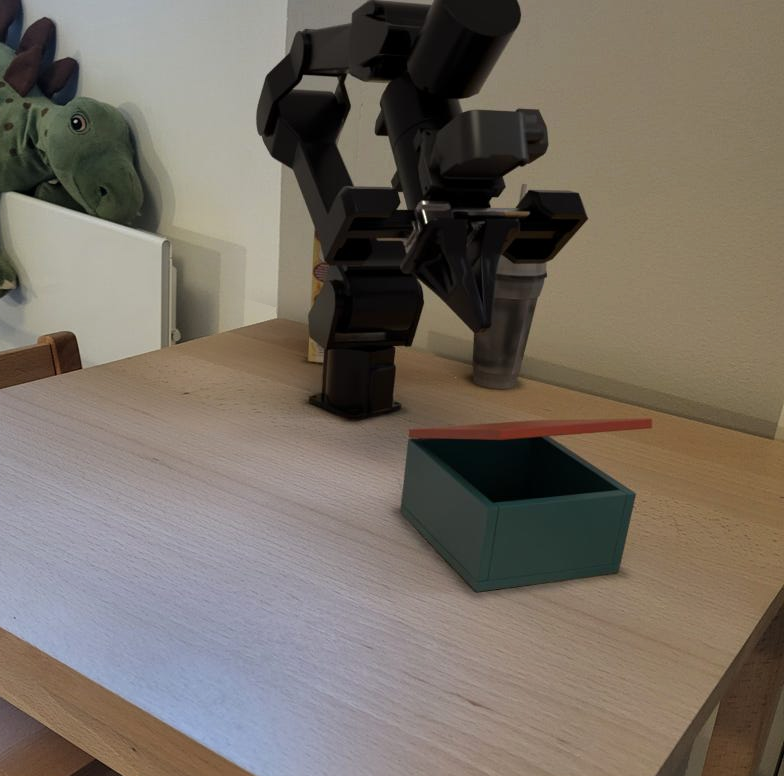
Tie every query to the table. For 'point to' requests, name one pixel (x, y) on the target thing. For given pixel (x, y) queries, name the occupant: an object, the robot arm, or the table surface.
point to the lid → (530, 429)
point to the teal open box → (515, 510)
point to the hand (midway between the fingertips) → (483, 330)
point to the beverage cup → (508, 323)
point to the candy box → (317, 282)
